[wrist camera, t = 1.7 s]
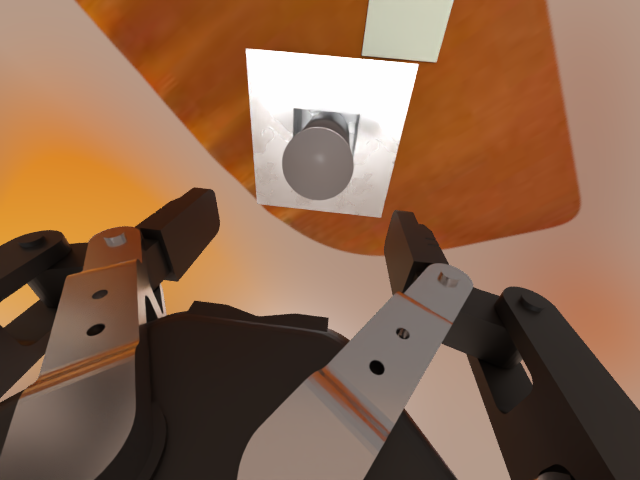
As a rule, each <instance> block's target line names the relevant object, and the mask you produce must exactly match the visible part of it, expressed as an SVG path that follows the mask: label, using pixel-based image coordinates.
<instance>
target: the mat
mask: <svg viewBox="0 0 640 480" xmlns="http://www.w3.org/2000/svg"><path fill="white" fill-rule="evenodd" d="M453 1H454V0H369V4H368V12H367V19H366V26H365V33H364V41H363V48H362V55H361V56H369V57H380V58H391V59H402V60H413V61H424V62H437V58H438V55H439V51H440V47H441V44H442V40H443V37H444V33H445V29H446V26H447V22H448V19H449V15H450V12H451V8H452V4H453Z"/></svg>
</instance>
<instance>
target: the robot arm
mask: <svg viewBox="0 0 640 480" xmlns="http://www.w3.org/2000/svg"><path fill="white" fill-rule="evenodd" d="M219 226H220V220H219V214H218V208H217V202H216V197H215V193H214V191H213V190H211V189H203V188H192V189H191V190H190V191H188V192H187V193H186V194H184V195H183V196H182V197H180V198H178V199H175V200H173V201H170V202H169V203H167V204H166V205H165V206H163V207H162V208H160V209H159V210H158V211H156V213H154V214H152V215H151V216H149V217H148V218H147V219H145V220H144V221H142V222H141V223H140V224H138V225H137V226H135V227H128V226H127V227H126V226H125V227H116V228H111V229H107V230H105V231H102V232H100V233H98V234H96V235H95V236H93V237H92V238H91V239H90V240H89V242H88V243H75V244H69V243H68V242H67V240H66V238H65V237H64V235H63V234H62V233H61V232H59V231H53V230H46V231H39V232H33V233H29V234H25V235H22V236H20V237H17V238H15V239H13V240H11V241H9V242H7V243H5V244H3V245H1V246H0V302H1V301H2V300H3V299H5V298H7V297H8V296H9V295H11V294H12V293H14V292H15V291H17V290H18V289H20V288H21V287H22V286H23V285H25V284H28V285H29V286H30V287H31V289H32V290H33V291H34V292H35V294H36V295H37V296H38V297H39V298H40V300H39V301H37V302H36V303H35V304H33V305H32V306H31V307H30V308H28V309H27V310H26V311H25V312H23V313H22V314H21V315H20V316H18V317H17V318H16V319H14V320H13V321H12V322H11V323H9V324H8V325H7V326H6V327H4V328H3V327H2V326H1V325H0V398H1V397H2V396H3V395H4V394H5V393H6V392H7V391H8V390H9V389H10V388H11V387H12V386H13V385H14V384H15V383H16V382H17V381H18V380H19V379H20V378H21V377H22V376H23V375H24V374H25V373H26V372H27V371H28V370H29V369H30V368H31V367H32V366H33V365H34V364H35V363H36V362H37V361H38V360H39V359H40V358H41V357H42V356H43V355H44V354H45V356H44V360H43V363H42V367H41V371H40V374H39V377H38V379H37V380H36V382H35V383H33V384H32V385H30V386H28V387H27V388H26V389H25V390H23V391H21V392H19V393H17V394H15V395H13V396H11V397H10V398H8V399H6V400H4V401H2V402H0V480H458V479H457V478H456V477H455V475H454V474H453V473H452V471H451V470H450V469H449V467H448V466H447V465H446V464H445V462H444V461H443V459H442V458H441V457H440V455H439V454H438V453H437V451H436V450H435V449H434V447H433V446H432V445H431V443H430V442H429V441H428V439H427V438H426V437H425V435H424V434H423V433H422V431H421V430H420V429H419V427H418V426H417V425H416V423H415V422H414V421H413V419H412V418H411V417H410V415H409V414H408V413H407V411H406V410H405V409H404V407H405V406H406V404H407V402H408V400H409V399H410V397H411V395H412V394H413V392H414V390H415V388H416V386H417V385H418V383H419V381H420V379H421V378H422V376H423V374H424V373H425V371H426V369H427V367H428V366H429V364H430V362H431V361H432V359H433V357H434V355H435V354H436V352H437V350H438V348H439V347H440V345H441V343H442V344H444V345H447V346H449V347H451V348H454V349H456V350H459V351H461V352H464V353H466V354H467V357H468V360H469V363H470V366H471V368H472V371H473V374H474V377H475V380H476V382H477V385H478V388H479V391H480V394H481V396H482V399H483V402H484V405H485V408H486V411H487V413H488V416H489V419H490V422H491V424H492V427H493V430H494V433H495V436H496V439H497V441H498V444H499V447H500V450H501V453H502V456H503V458H504V461H505V464H506V467H507V470H508V472H509V475H510V478H511V480H640V411H639V410H638V408H637V407H636V406H635V405H634V403H633V402H632V401H631V400H630V399H629V397H628V396H627V395H626V393H625V392H624V391H623V390H622V388H621V387H620V386H619V385H618V384H617V382H616V381H615V380H614V379H613V377H612V376H611V375H610V374H609V372H608V371H607V370H606V369H605V367H604V366H603V365H602V364H601V363H600V362H599V360H598V359H597V358H596V357H595V355H594V354H593V353H592V351H591V350H590V349H589V348H588V347H587V345H586V344H585V343H584V342H583V340H582V339H581V338H580V337H579V336H578V334H577V333H576V332H575V331H574V329H573V328H572V327H571V326H570V325H569V323H568V322H567V321H566V319H565V318H564V317H563V316H562V314H561V313H560V312H559V311H558V310H557V308H556V307H555V306H554V305H553V304H552V303H551V302H549V301H548V300H547V299H545V298H544V297H542V296H541V295H539V294H537V293H535V292H533V291H530V290H528V289H525V288H520V287H508V288H506V289H505V290H504V291H503V292H502V294H501V295H500V296H498V295H495V294H491V293H488V292H485V291H482V290H479V289H476V288H474V287H473V283H472V280H471V279H470V278H469V276H468V275H467V274H465V273H464V272H463V271H461V270H460V269H458V268H456V267H453V266H451V265H449V264H448V262H447V260H446V258H445V256H444V254H443V252H442V250H441V248H440V247H439V244H438V242H437V241H436V239H435V237H434V235H433V233H432V231H431V230H429V229H428V228H427V227H426V226H425V225H423V224H418V222H417V220H416V218H415V216H414V213H413V212H407V211H398V210H395V211H394V212H393V215H392V218H391V222H390V225H389V229H388V233H387V236H386V240H385V246H384V254H385V258H386V263H387V269H388V273H389V279H390V284H391V288H392V294H393V296H392V297H391V298H390V299H389V300H388V302H387V303H386V304H385V305H384V306H383V307H382V308H381V309H380V310H379V311H378V312H377V313H376V314H375V315H374V316H373V317H372V318H371V319H370V320H369V321H368V322H367V324H366V325H365V326H364V327H363V328H362V329H361V330H360V331H359V332H358V333H357V334H356V335H355V336H354V337H353V338H352V339H351V340H348V339H347V338H346V337H344V336H342V335H341V334H339V333H337V332H335V331H333V330H330V329H328V318H326V317H317V316H310V315H302V314H284V315H273V316H255V315H252V314H250V313H247V312H244V311H242V310H239V309H237V308H234V307H231V306H229V305H223V304H216V303H209V302H208V303H207V302H201V301H194V302H193V304H192V305H191V307H190V309H189V310H188V311H185V312H179V313H174V314H171V315H166V308H165V301H164V295H163V289H162V286H161V284H160V283H161V282H162V281H163V280H169V281H179V279H180V278H181V277H182V276H183V274H184V273H185V272H186V271H187V270H188V268H189V267H190V266H191V265H192V264H193V262H194V261H195V260H196V259H197V257H198V256H199V255H200V254H201V253H202V251H203V250H204V249H205V248H206V246H207V245H208V244H209V243H210V241H211V240H212V239H213V238H214V237H215V235H216V234H217V233H218V231H219ZM521 360H524V362H525V364H526V366H527V368H528V370H529V371H530V374H531V376H532V381H533V385H532V383H531V382H530V379H529V378H528V376H527V374H526V372H525V370H524V368H523V366H522V364H521V363H520V362H521Z"/></svg>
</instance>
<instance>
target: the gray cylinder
mask: <svg viewBox="0 0 640 480" xmlns="http://www.w3.org/2000/svg"><path fill="white" fill-rule="evenodd" d="M353 168H354V162H353V155H352V152H351V149H350V138H349V127H348V124H347V122H346V120H345V119H344V118H343V117H342V116H341V115H340V114H339V113H337V112H328V111H321V112H318V113H317V114H315V115H314V116H313V117H312V118H311V119H310V121H309V122H308V123H307V124H306V126H305V127H304V128H303V130H302V131H301V132H299V133H297V134H296V135H295V136H294V137H293V138H292V139H291V140H290V142H289V143H288V144H287V146H286V148H285V150H284V153H283V157H282V169H283V174H284V177H285V179H286V181H287V183H288V184H289V186H290V187H291V188H292V189H293V190H294V191H295V192H296V193H298V194H299V195H301V196H303V197H305V198H308V199H311V200H327V199H330V198H333V197H335V196H337V195H338V194H340V193H341V192H342V191H343V190H344V189H345V188H346V187H347V185H348V184H349V182H350V180H351V178H352V175H353Z"/></svg>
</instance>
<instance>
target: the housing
mask: <svg viewBox="0 0 640 480" xmlns="http://www.w3.org/2000/svg"><path fill="white" fill-rule="evenodd" d="M246 59H247V73H248V86H249V100H250V114H251V127H252V141H253V154H254V168H255V182H256V195H257V204H263V205H272V206H281V207H290V208H299V209H308V210H317V211H326V212H335V213H344V214H353V215H362V216H371V217H380V218H381V215H382V211H383V207H384V203H385V199H386V195H387V191H388V187H389V182H390V178H391V174H392V170H393V166H394V162H395V158H396V154H397V150H398V146H399V142H400V138H401V134H402V130H403V126H404V122H405V118H406V114H407V109H408V105H409V101H410V97H411V93H412V89H413V85H414V81H415V77H416V73H417V69H418V65H419V64H411V63H400V62H389V61H378V60H367V59H356V58H345V57H334V56H323V55H312V54H301V53H291V52H280V51H269V50H258V49H247V48H246ZM321 111H328V112H337V113H339V114H340V115H341V116H342V117H343V118H344V119H345V120H346V122H347V124H348V127H349V138H350V149H351V152H352V155H353V162H354V168H353V175H352V178H351V180H350V182H349V184H348V185H347V187H346V188H345V189H344V190H343V191H342V192H341V193H340V194H338V195H337V196H335V197H333V198H330V199H327V200H311V199H308V198H305V197H303V196H301V195H299V194H298V193H296V192H295V191H294V190H293V189H292V188H291V187H290V186H289V184H288V183H287V181H286V179H285V177H284V174H283V169H282V157H283V153H284V150H285V148H286V146H287V144H288V143H289V142H290V140H291V139H292V138H293V137H294V136H295V135H296V134H297V133H299V132H301V131H302V130H303V128H304V127H305V126H306V124H307V123H308V122H309V121H310V119H311V118H312V117H313V116H314V115H315V114H317V113H318V112H321Z"/></svg>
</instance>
